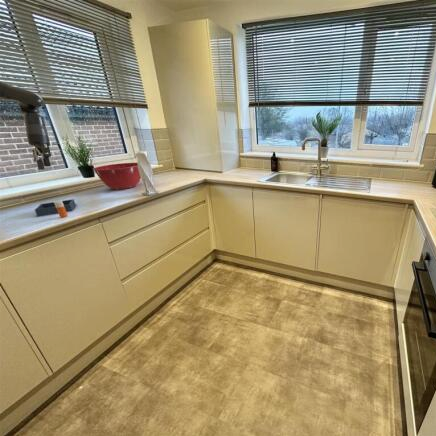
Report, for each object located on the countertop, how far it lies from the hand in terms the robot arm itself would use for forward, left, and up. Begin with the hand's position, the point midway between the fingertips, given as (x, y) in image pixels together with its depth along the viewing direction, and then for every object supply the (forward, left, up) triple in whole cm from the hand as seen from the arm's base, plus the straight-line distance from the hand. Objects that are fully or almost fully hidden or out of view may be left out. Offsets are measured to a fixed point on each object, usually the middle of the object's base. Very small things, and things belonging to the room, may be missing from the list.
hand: (44, 167), depth 120 cm
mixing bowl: (+11, +45, -23) cm, 51 cm away
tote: (+1, -4, -22) cm, 23 cm away
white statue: (+37, +22, -23) cm, 49 cm away
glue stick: (+11, -15, -22) cm, 29 cm away
